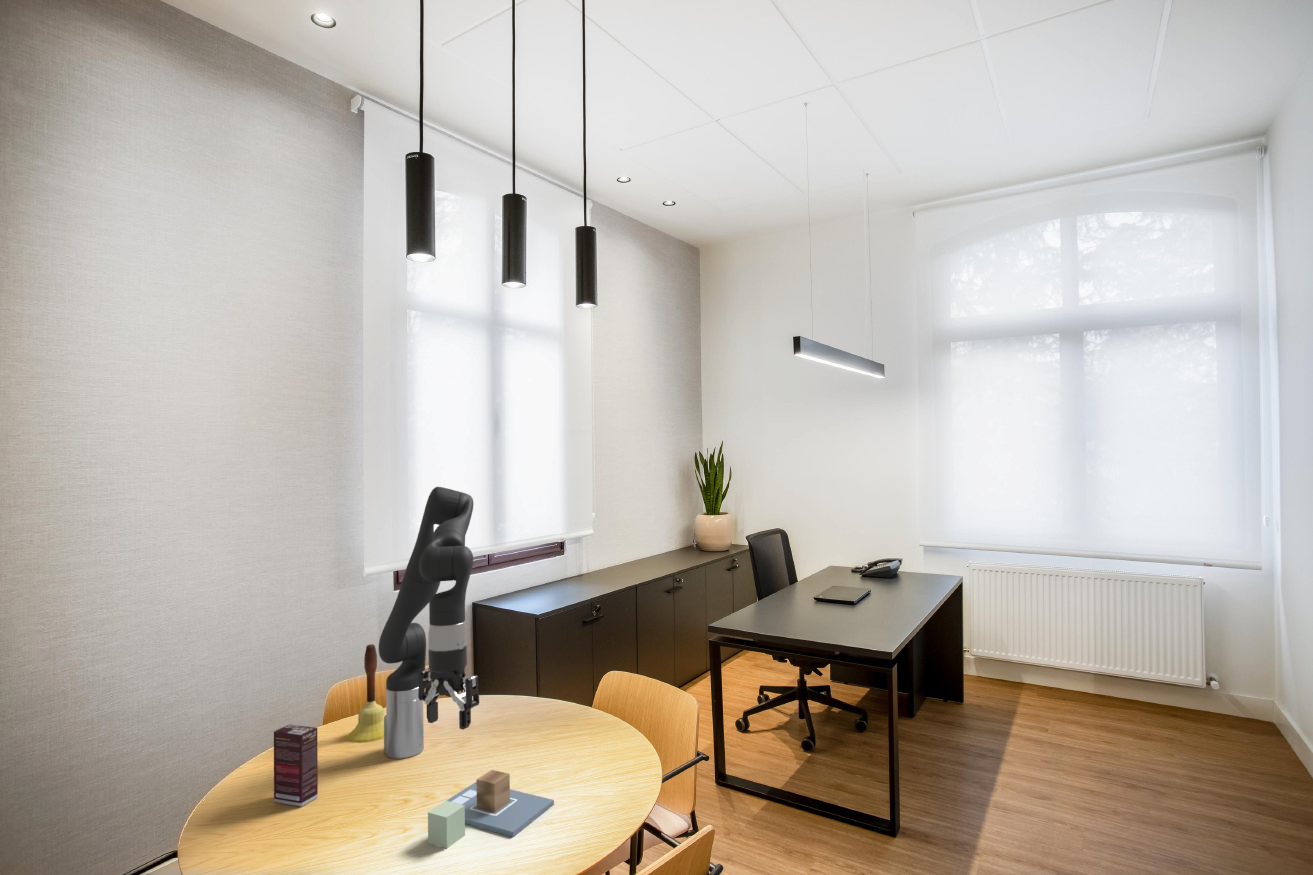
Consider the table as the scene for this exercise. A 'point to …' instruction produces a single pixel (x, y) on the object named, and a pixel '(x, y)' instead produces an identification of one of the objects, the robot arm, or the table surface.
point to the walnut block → (493, 790)
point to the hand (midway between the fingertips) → (448, 724)
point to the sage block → (446, 824)
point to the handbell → (369, 705)
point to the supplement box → (295, 765)
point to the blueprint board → (502, 811)
